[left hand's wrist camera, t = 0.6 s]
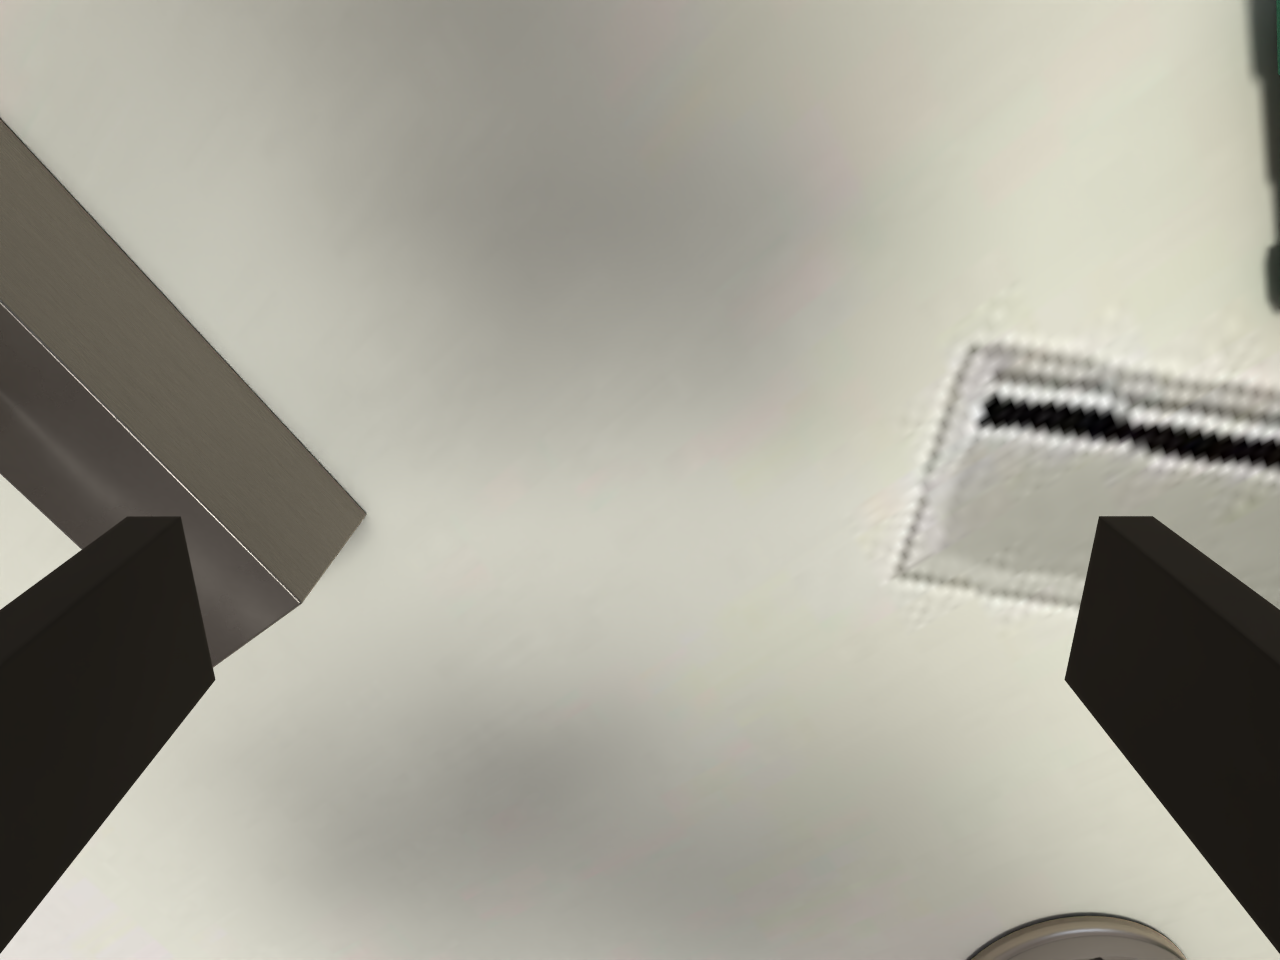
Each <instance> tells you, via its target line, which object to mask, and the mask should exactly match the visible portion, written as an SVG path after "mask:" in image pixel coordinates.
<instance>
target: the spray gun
mask: <svg viewBox="0 0 1280 960" xmlns="http://www.w3.org/2000/svg"><path fill="white" fill-rule="evenodd" d="M1276 11H1277V57H1278V75H1279V76H1280V0H1276Z"/></svg>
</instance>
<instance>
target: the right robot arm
mask: <svg viewBox="0 0 1280 960" xmlns="http://www.w3.org/2000/svg"><path fill="white" fill-rule="evenodd" d="M971 960H1187V959H1186V958H1185V957H1184V955H1183V954H1182V952H1181V951H1180V950H1179V949H1178V948H1177V947H1176V946H1175V945H1174V944H1173V943H1172V942H1171V941H1170V940H1169V939H1167V938H1166V937H1165V936H1163V935H1162V934H1160V933H1158V932H1157V931H1155V930H1153V929H1151V928H1149V927H1146V926H1144V925H1141V924H1138V923H1135V922H1132V921H1128V920H1124V919H1119V918H1113V917H1104V916H1075V917H1066V918H1059V919H1054V920H1049V921H1045V922H1041V923H1037V924H1034V925H1031V926H1028V927H1025V928H1023V929H1020V930H1018V931H1015V932H1013V933H1011V934H1009V935H1007V936H1005V937H1003V938H1001V939H999V940H997V941H996V942H994V943H992V944H991V945H989V946H988V947H986V948H985V949H984V950H982V951H981V952H980V953H978V954H977V955H976V956H975V957H974V958H972V959H971Z"/></svg>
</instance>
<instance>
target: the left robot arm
mask: <svg viewBox="0 0 1280 960" xmlns="http://www.w3.org/2000/svg"><path fill="white" fill-rule="evenodd" d="M214 681H215V676H214V671H213V666H212V662H211V657H210V652H209V647H208V643H207V638H206V633H205V629H204V624H203V619H202V614H201V610H200V605H199V600H198V595H197V591H196V586H195V581H194V576H193V572H192V567H191V562H190V557H189V553H188V548H187V543H186V538H185V534H184V529H183V524H182V519H181V516H127V517H126V518H124V519H123V520H122V521H120V522H119V523H118V524H116V525H115V526H114V527H112V528H111V529H110V530H108V531H107V532H105V533H104V534H103V535H101V536H100V537H99V538H97V539H96V540H95V541H93V542H92V543H91V544H89V545H88V546H86V547H85V548H84V549H82V550H81V551H80V552H78V553H77V554H76V555H74V556H73V557H72V558H70V559H69V560H67V561H66V562H65V563H63V564H62V565H61V566H59V567H58V568H57V569H55V570H54V571H52V572H51V573H50V574H48V575H47V576H46V577H44V578H43V579H42V580H40V581H39V582H38V583H36V584H35V585H33V586H32V587H31V588H29V589H28V590H27V591H25V592H24V593H23V594H21V595H20V596H19V597H17V598H16V599H14V600H13V601H12V602H10V603H9V604H8V605H6V606H5V607H4V608H2V609H1V610H0V953H1V952H2V951H3V950H4V948H5V947H6V946H7V944H8V943H9V942H10V941H11V939H12V938H13V937H14V936H15V934H16V933H17V932H18V930H19V929H20V928H21V927H22V925H23V924H24V923H25V922H26V920H27V919H28V918H29V916H30V915H31V914H32V913H33V911H34V910H35V909H36V908H37V906H38V905H39V904H40V902H41V901H42V900H43V899H44V897H45V896H46V895H47V894H48V892H49V891H50V890H51V888H52V887H53V886H54V885H55V883H56V882H57V881H58V880H59V878H60V877H61V876H62V874H63V873H64V872H65V871H66V869H67V868H68V867H69V866H70V864H71V863H72V862H73V860H74V859H75V858H76V857H77V855H78V854H79V853H80V851H81V850H82V849H83V848H84V846H85V845H86V844H87V843H88V841H89V840H90V839H91V837H92V836H93V835H94V834H95V832H96V831H97V830H98V829H99V827H100V826H101V825H102V823H103V822H104V821H105V820H106V818H107V817H108V816H109V815H110V813H111V812H112V811H113V809H114V808H115V807H116V806H117V804H118V803H119V802H120V801H121V799H122V798H123V797H124V795H125V794H126V793H127V792H128V790H129V789H130V788H131V787H132V785H133V784H134V783H135V781H136V780H137V779H138V778H139V776H140V775H141V774H142V773H143V771H144V770H145V769H146V767H147V766H148V765H149V764H150V762H151V761H152V760H153V759H154V757H155V756H156V755H157V753H158V752H159V751H160V750H161V748H162V747H163V746H164V744H165V743H166V742H167V741H168V739H169V738H170V737H171V736H172V734H173V733H174V732H175V730H176V729H177V728H178V727H179V725H180V724H181V723H182V722H183V720H184V719H185V718H186V716H187V715H188V714H189V713H190V711H191V710H192V709H193V708H194V706H195V705H196V704H197V702H198V701H199V700H200V699H201V697H202V696H203V695H204V694H205V692H206V691H207V690H208V688H209V687H210V686H211V685H212V683H213V682H214ZM1065 681H1066V682H1067V683H1068V685H1069V686H1070V687H1071V688H1072V690H1073V691H1074V692H1075V694H1076V695H1077V696H1078V697H1079V699H1080V700H1081V701H1082V702H1083V704H1084V705H1085V706H1086V708H1087V709H1088V710H1089V711H1090V713H1091V714H1092V715H1093V716H1094V718H1095V719H1096V720H1097V722H1098V723H1099V724H1100V725H1101V727H1102V728H1103V729H1104V730H1105V732H1106V733H1107V734H1108V736H1109V737H1110V738H1111V739H1112V741H1113V742H1114V743H1115V744H1116V746H1117V747H1118V748H1119V750H1120V751H1121V752H1122V753H1123V755H1124V756H1125V757H1126V759H1127V760H1128V761H1129V762H1130V764H1131V765H1132V766H1133V767H1134V769H1135V770H1136V771H1137V773H1138V774H1139V775H1140V776H1141V778H1142V779H1143V780H1144V781H1145V783H1146V784H1147V785H1148V787H1149V788H1150V789H1151V790H1152V792H1153V793H1154V794H1155V795H1156V797H1157V798H1158V799H1159V801H1160V802H1161V803H1162V804H1163V806H1164V807H1165V808H1166V809H1167V811H1168V812H1169V813H1170V815H1171V816H1172V817H1173V818H1174V820H1175V821H1176V822H1177V823H1178V825H1179V826H1180V827H1181V829H1182V830H1183V831H1184V832H1185V834H1186V835H1187V836H1188V837H1189V839H1190V840H1191V841H1192V843H1193V844H1194V845H1195V846H1196V848H1197V849H1198V850H1199V851H1200V853H1201V854H1202V855H1203V857H1204V858H1205V859H1206V860H1207V862H1208V863H1209V864H1210V866H1211V867H1212V868H1213V869H1214V871H1215V872H1216V873H1217V874H1218V876H1219V877H1220V878H1221V880H1222V881H1223V882H1224V883H1225V885H1226V886H1227V887H1228V888H1229V890H1230V891H1231V892H1232V894H1233V895H1234V896H1235V897H1236V899H1237V900H1238V901H1239V902H1240V904H1241V905H1242V906H1243V908H1244V909H1245V910H1246V911H1247V913H1248V914H1249V915H1250V916H1251V918H1252V919H1253V920H1254V922H1255V923H1256V924H1257V925H1258V927H1259V928H1260V929H1261V930H1262V932H1263V933H1264V934H1265V936H1266V937H1267V938H1268V939H1269V941H1270V942H1271V943H1272V944H1273V946H1274V947H1275V948H1276V950H1277V951H1278V952H1279V953H1280V610H1279V609H1278V608H1276V607H1275V606H1274V605H1272V604H1271V603H1270V602H1268V601H1267V600H1266V599H1264V598H1263V597H1261V596H1260V595H1259V594H1257V593H1256V592H1255V591H1253V590H1252V589H1251V588H1249V587H1248V586H1247V585H1245V584H1244V583H1242V582H1241V581H1240V580H1238V579H1237V578H1236V577H1234V576H1233V575H1232V574H1230V573H1229V572H1227V571H1226V570H1225V569H1223V568H1222V567H1221V566H1219V565H1218V564H1217V563H1215V562H1214V561H1213V560H1211V559H1210V558H1208V557H1207V556H1206V555H1204V554H1203V553H1202V552H1200V551H1199V550H1198V549H1196V548H1195V547H1194V546H1192V545H1191V544H1189V543H1188V542H1187V541H1185V540H1184V539H1183V538H1181V537H1180V536H1179V535H1177V534H1176V533H1175V532H1173V531H1172V530H1170V529H1169V528H1168V527H1166V526H1165V525H1164V524H1162V523H1161V522H1160V521H1158V520H1157V519H1156V518H1154V517H1153V516H1099V519H1098V524H1097V529H1096V534H1095V538H1094V543H1093V548H1092V553H1091V557H1090V562H1089V567H1088V572H1087V576H1086V581H1085V586H1084V591H1083V595H1082V600H1081V605H1080V610H1079V614H1078V619H1077V624H1076V629H1075V633H1074V638H1073V643H1072V647H1071V652H1070V657H1069V662H1068V666H1067V671H1066V676H1065Z"/></svg>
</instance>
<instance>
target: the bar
mask: <svg viewBox="0 0 1280 960" xmlns="http://www.w3.org/2000/svg"><path fill="white" fill-rule="evenodd" d="M0 474H1V475H2V476H3V477H5V478H6V479H7V480H8V481H9V482H10V483H11V484H12V485H13V486H14V487H15V488H16V489H17V490H18V491H20V492H21V493H22V494H23V495H24V496H25V497H26V498H27V499H28V500H29V501H30V502H31V503H32V504H34V505H35V506H36V507H37V508H38V509H39V510H40V511H41V512H42V513H43V514H44V515H45V516H46V517H47V518H49V519H50V520H51V521H52V522H53V523H54V524H55V525H56V526H57V527H58V528H59V529H60V530H61V531H63V532H64V533H65V534H66V535H67V536H68V537H69V538H70V539H71V540H72V541H73V542H74V543H75V544H76V545H78V546H79V547H80V548H81V549H84V548H85V547H86V546H88V545H89V544H91V543H92V542H93V541H95V540H96V539H97V538H99V537H100V536H101V535H103V534H104V533H105V532H107V531H108V530H110V529H111V528H112V527H114V526H115V525H116V524H118V523H119V522H120V521H122V520H123V519H124V518H126V517H127V516H181V519H182V524H183V529H184V534H185V538H186V543H187V548H188V553H189V557H190V562H191V567H192V572H193V576H194V581H195V586H196V591H197V595H198V600H199V605H200V610H201V614H202V619H203V624H204V629H205V633H206V638H207V643H208V647H209V652H210V657H211V662H212V666H213V667H215V666H216V665H217V664H219V663H220V662H222V661H223V660H224V659H226V658H227V657H228V656H230V655H231V654H233V653H234V652H235V651H237V650H238V649H240V648H241V647H242V646H244V645H245V644H246V643H248V642H249V641H251V640H252V639H253V638H255V637H256V636H258V635H259V634H260V633H262V632H263V631H264V630H266V629H267V628H269V627H270V626H271V625H273V624H274V623H276V622H277V621H278V620H280V619H281V618H282V617H284V616H285V615H287V614H288V613H289V612H291V611H292V610H294V609H295V608H296V607H298V606H299V605H301V604H302V603H303V601H304V600H305V598H306V597H307V596H308V594H309V593H310V592H311V590H312V589H313V587H314V586H315V585H316V583H317V582H318V581H319V579H320V578H321V576H322V575H323V574H324V572H325V571H326V570H327V568H328V567H329V565H330V564H331V563H332V561H333V560H334V559H335V557H336V556H337V554H338V553H339V552H340V550H341V549H342V548H343V546H344V545H345V543H346V542H347V541H348V539H349V538H350V537H351V535H352V534H353V533H354V531H355V530H356V528H357V527H358V526H359V524H360V523H361V522H362V520H363V519H364V517H365V516H366V513H365V512H364V511H363V510H362V509H361V508H360V507H359V506H358V505H357V503H356V502H355V501H354V500H353V499H352V498H351V497H350V496H349V495H348V494H347V493H346V492H345V490H344V489H343V488H342V487H341V486H340V485H339V484H338V483H337V482H336V481H335V480H334V479H333V478H332V476H331V475H330V474H329V473H328V472H327V471H326V470H325V469H324V468H323V467H322V466H321V465H320V464H319V462H318V461H317V460H316V459H315V458H314V457H313V456H312V455H311V454H310V453H309V452H308V451H307V449H306V448H305V447H304V446H303V445H302V444H301V443H300V442H299V441H298V440H297V439H296V438H295V437H294V435H293V434H292V433H291V432H290V431H289V430H288V429H287V428H286V427H285V426H284V425H283V424H282V423H281V421H280V420H279V419H278V418H277V417H276V416H275V415H274V414H273V413H272V412H271V411H270V410H269V408H268V407H267V406H266V405H265V404H264V403H263V402H262V401H261V400H260V399H259V398H258V397H257V396H256V394H255V393H254V392H253V391H252V390H251V389H250V388H249V387H248V386H247V385H246V384H245V383H244V382H243V380H242V379H241V378H240V377H239V376H238V375H237V374H236V373H235V372H234V371H233V370H232V369H231V367H230V366H229V365H228V364H227V363H226V362H225V361H224V360H223V359H222V358H221V357H220V356H219V355H218V353H217V352H216V351H215V350H214V349H213V348H212V347H211V346H210V345H209V344H208V343H207V342H206V341H205V339H204V338H203V337H202V336H201V335H200V334H199V333H198V332H197V331H196V330H195V329H194V328H193V326H192V325H191V324H190V323H189V322H188V321H187V320H186V319H185V318H184V317H183V316H182V315H181V314H180V312H179V311H178V310H177V309H176V308H175V307H174V306H173V305H172V304H171V303H170V302H169V301H168V300H167V298H166V297H165V296H164V295H163V294H162V293H161V292H160V291H159V290H158V289H157V288H156V287H155V285H154V284H153V283H152V282H151V281H150V280H149V279H148V278H147V277H146V276H145V275H144V274H143V273H142V271H141V270H140V269H139V268H138V267H137V266H136V265H135V264H134V263H133V262H132V261H131V260H130V259H129V257H128V256H127V255H126V254H125V253H124V252H123V251H122V250H121V249H120V248H119V247H118V246H117V244H116V243H115V242H114V241H113V240H112V239H111V238H110V237H109V236H108V235H107V234H106V233H105V232H104V230H103V229H102V228H101V227H100V226H99V225H98V224H97V223H96V222H95V221H94V220H93V219H92V218H91V216H90V215H89V214H88V213H87V212H86V211H85V210H84V209H83V208H82V207H81V206H80V205H79V203H78V202H77V201H76V200H75V199H74V198H73V197H72V196H71V195H70V194H69V193H68V192H67V191H66V189H65V188H64V187H63V186H62V185H61V184H60V183H59V182H58V181H57V180H56V179H55V178H54V177H53V175H52V174H51V173H50V172H49V171H48V170H47V169H46V168H45V167H44V166H43V165H42V164H41V162H40V161H39V160H38V159H37V158H36V157H35V156H34V155H33V154H32V153H31V152H30V151H29V150H28V148H27V147H26V146H25V145H24V144H23V143H22V142H21V141H20V140H19V139H18V138H17V137H16V136H15V134H14V133H13V132H12V131H11V130H10V129H9V128H8V127H7V126H6V125H5V124H4V123H3V121H2V120H1V119H0Z"/></svg>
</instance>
